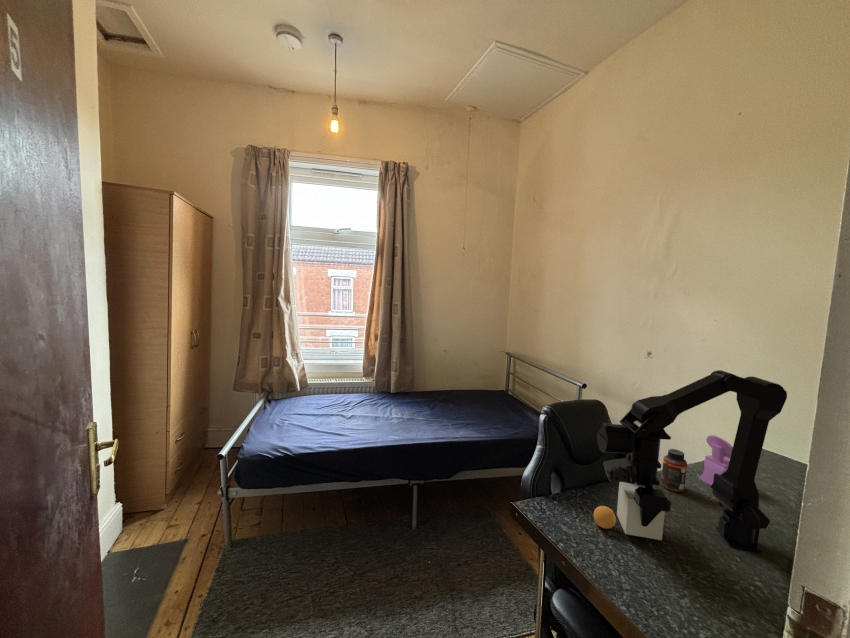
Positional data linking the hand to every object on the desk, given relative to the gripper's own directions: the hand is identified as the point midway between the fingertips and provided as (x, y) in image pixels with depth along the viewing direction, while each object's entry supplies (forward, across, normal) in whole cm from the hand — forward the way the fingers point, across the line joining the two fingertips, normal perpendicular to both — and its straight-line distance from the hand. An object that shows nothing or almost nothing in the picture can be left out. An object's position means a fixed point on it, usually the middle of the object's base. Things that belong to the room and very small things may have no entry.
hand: (638, 515), depth 89 cm
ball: (+2, 0, -8) cm, 8 cm away
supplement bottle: (+5, -26, +17) cm, 31 cm away
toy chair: (+5, -34, +33) cm, 48 cm away
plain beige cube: (+3, 0, 0) cm, 3 cm away
